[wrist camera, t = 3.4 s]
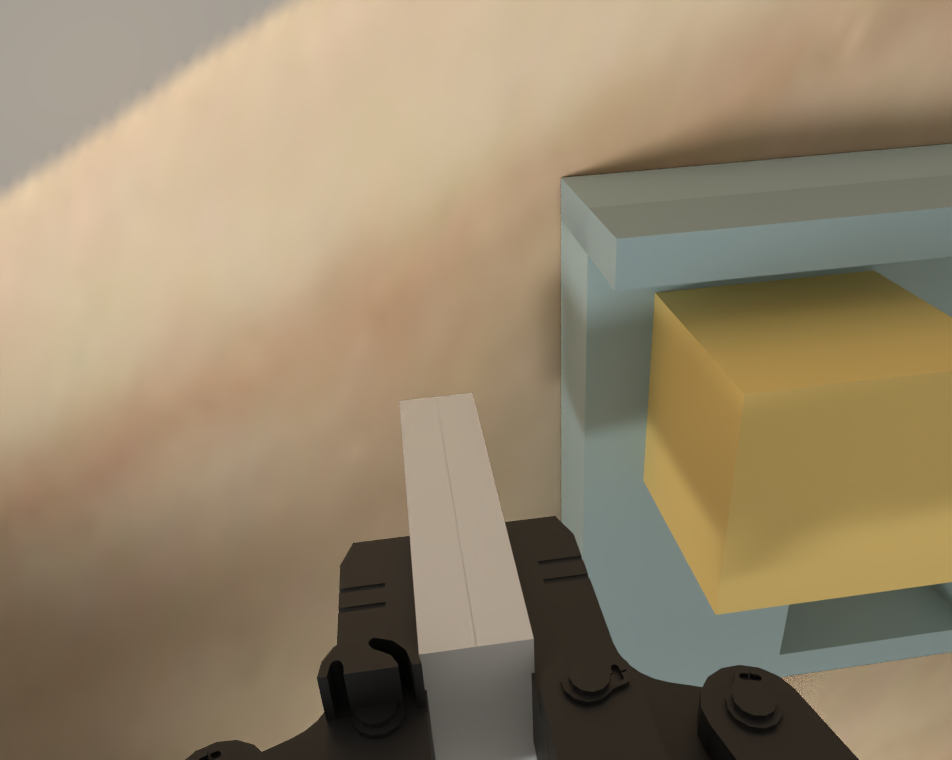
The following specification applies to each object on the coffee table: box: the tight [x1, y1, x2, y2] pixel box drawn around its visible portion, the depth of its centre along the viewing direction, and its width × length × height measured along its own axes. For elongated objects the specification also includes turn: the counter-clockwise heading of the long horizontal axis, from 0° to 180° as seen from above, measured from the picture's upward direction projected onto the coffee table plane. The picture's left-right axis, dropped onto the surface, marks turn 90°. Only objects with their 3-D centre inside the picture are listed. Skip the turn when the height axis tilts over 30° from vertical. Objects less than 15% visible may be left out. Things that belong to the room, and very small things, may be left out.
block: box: [643, 270, 952, 615], centre depth 16 cm, size 5×5×4 cm
